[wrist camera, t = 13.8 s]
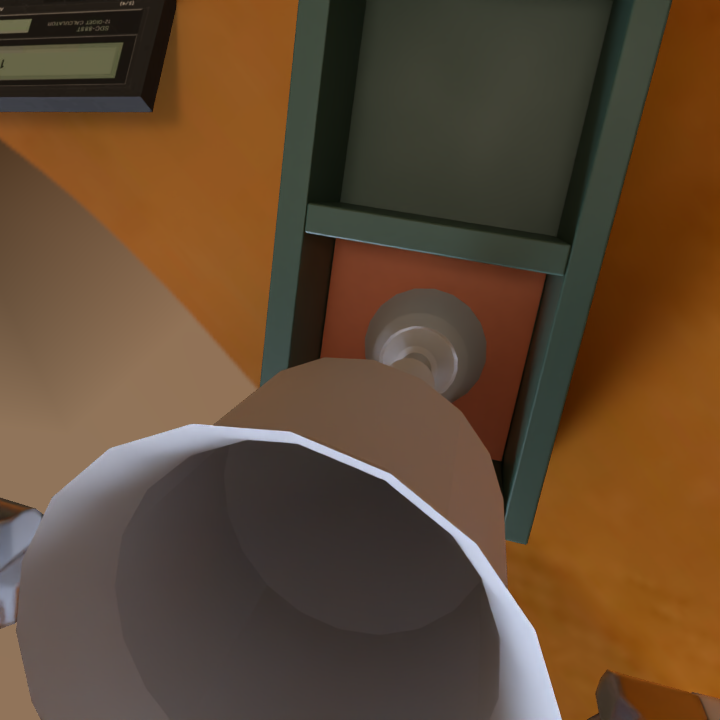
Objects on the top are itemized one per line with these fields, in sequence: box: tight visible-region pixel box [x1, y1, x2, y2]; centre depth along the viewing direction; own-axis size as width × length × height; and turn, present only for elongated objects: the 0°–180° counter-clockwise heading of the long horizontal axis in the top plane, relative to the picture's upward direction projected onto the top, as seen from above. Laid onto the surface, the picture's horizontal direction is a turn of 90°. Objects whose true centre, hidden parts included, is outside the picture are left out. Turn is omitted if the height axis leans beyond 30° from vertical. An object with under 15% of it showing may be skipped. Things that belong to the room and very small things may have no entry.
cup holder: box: [260, 0, 672, 544], centre depth 21 cm, size 10×20×5 cm, turn 171°
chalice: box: [16, 289, 562, 720], centre depth 15 cm, size 7×7×18 cm
